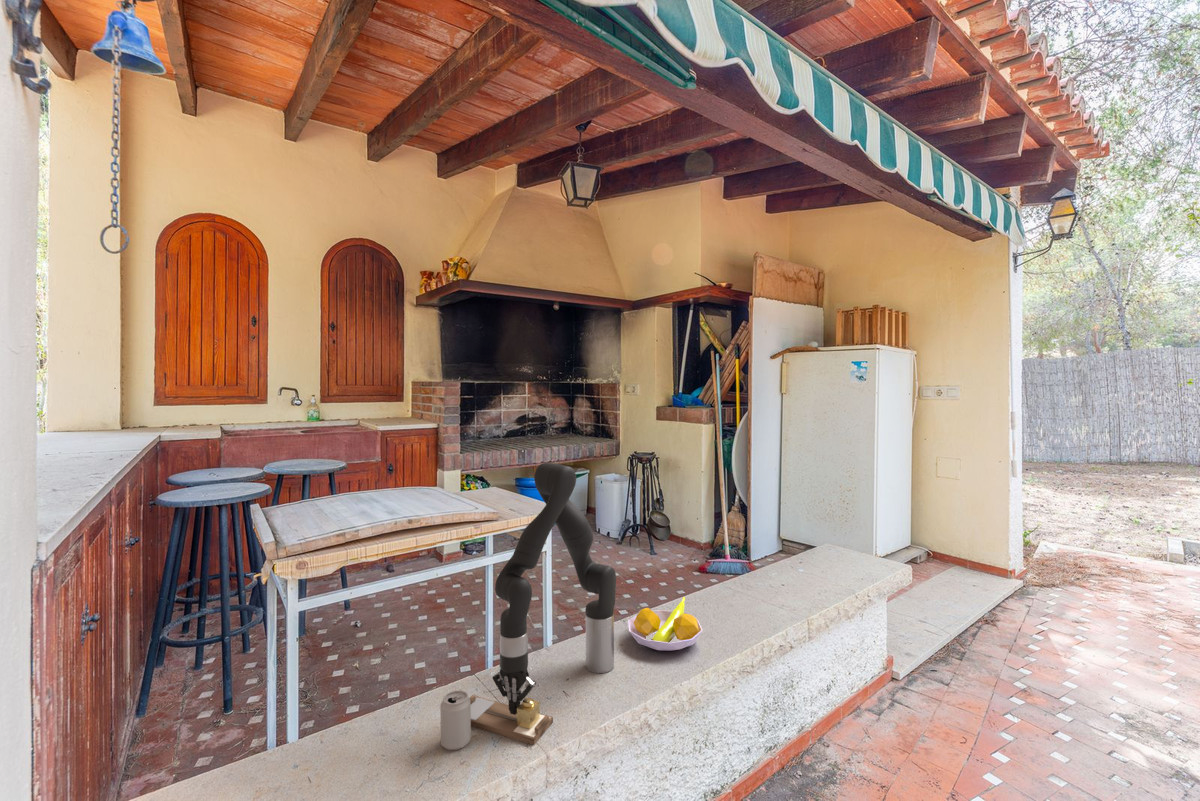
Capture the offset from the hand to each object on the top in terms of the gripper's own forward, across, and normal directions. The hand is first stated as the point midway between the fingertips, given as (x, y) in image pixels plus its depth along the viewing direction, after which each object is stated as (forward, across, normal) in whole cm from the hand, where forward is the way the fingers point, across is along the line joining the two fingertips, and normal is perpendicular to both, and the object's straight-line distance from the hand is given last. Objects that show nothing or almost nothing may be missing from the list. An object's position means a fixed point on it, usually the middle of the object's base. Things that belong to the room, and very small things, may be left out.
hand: (514, 712), depth 144 cm
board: (+3, +3, 0) cm, 5 cm away
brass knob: (+1, -4, 0) cm, 5 cm away
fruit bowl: (+4, -24, -63) cm, 67 cm away
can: (+3, +10, +12) cm, 16 cm away
